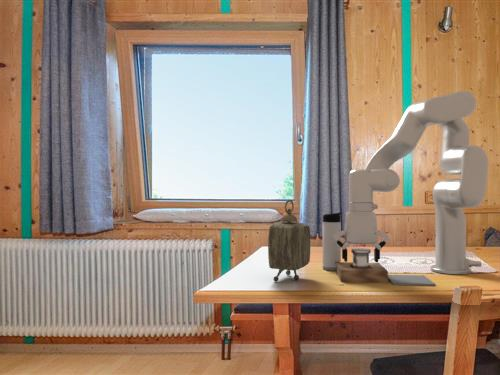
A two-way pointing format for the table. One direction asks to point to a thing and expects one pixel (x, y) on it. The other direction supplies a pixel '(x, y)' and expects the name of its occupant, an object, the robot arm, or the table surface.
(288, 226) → the tabletop clock
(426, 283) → the mat
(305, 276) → the table surface
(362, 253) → the end cap
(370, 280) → the brown wooden square slab
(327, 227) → the travel mug
